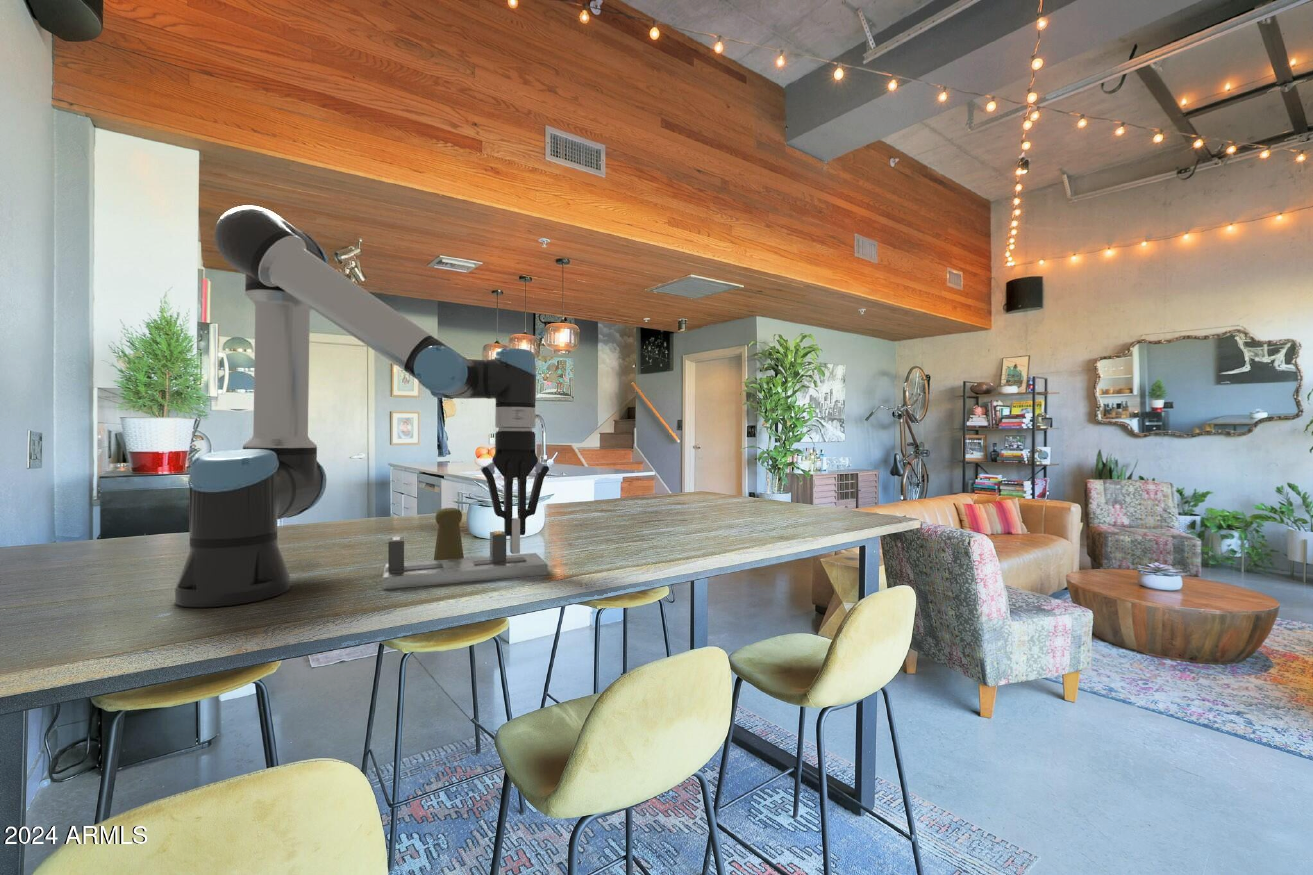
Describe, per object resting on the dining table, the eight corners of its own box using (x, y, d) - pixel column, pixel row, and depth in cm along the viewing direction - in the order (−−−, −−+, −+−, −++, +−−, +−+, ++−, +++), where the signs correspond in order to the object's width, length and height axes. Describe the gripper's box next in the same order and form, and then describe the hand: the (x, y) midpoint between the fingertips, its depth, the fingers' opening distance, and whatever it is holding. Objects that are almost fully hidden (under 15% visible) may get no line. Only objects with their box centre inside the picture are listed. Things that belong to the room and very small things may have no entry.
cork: (454, 565, 118) (454, 510, 118) (427, 564, 119) (427, 509, 119) (469, 559, 123) (469, 506, 123) (443, 557, 125) (443, 506, 125)
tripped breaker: (492, 562, 110) (492, 534, 110) (489, 558, 113) (489, 531, 113) (506, 561, 111) (506, 533, 111) (503, 556, 114) (503, 530, 114)
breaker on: (388, 570, 103) (388, 540, 103) (389, 565, 106) (389, 537, 106) (403, 569, 104) (404, 539, 104) (404, 564, 107) (404, 536, 107)
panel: (382, 589, 99) (382, 576, 99) (385, 575, 109) (385, 563, 109) (547, 574, 110) (547, 562, 110) (535, 562, 120) (535, 551, 120)
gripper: (482, 429, 107) (482, 558, 107) (553, 430, 112) (552, 553, 112) (478, 429, 114) (477, 551, 114) (544, 430, 119) (544, 546, 119)
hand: (514, 552), depth 113 cm, fingers closed
